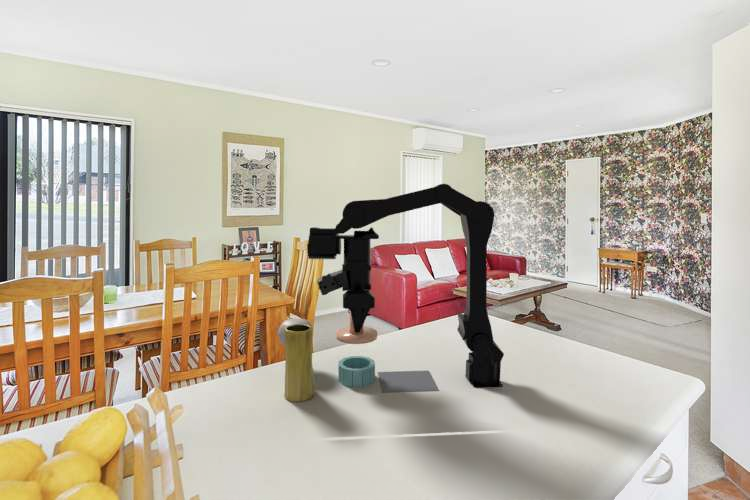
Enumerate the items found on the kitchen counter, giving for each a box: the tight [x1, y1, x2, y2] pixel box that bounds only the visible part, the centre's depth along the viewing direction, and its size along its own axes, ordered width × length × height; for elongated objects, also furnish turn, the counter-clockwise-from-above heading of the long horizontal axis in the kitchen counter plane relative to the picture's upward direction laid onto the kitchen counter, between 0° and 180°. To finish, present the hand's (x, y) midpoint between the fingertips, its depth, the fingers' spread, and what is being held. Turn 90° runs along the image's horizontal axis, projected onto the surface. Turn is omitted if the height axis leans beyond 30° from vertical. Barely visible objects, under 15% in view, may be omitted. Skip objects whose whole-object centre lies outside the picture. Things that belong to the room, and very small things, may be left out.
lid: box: [335, 311, 378, 345], centre depth 88 cm, size 9×9×6 cm
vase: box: [283, 324, 315, 402], centre depth 82 cm, size 6×6×14 cm
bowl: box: [338, 355, 376, 388], centre depth 89 cm, size 8×8×4 cm
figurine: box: [277, 317, 314, 347], centre depth 95 cm, size 8×8×12 cm
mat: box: [377, 370, 440, 394], centre depth 89 cm, size 12×10×1 cm
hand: (356, 329), depth 88 cm, fingers closed on lid, 3 cm apart
